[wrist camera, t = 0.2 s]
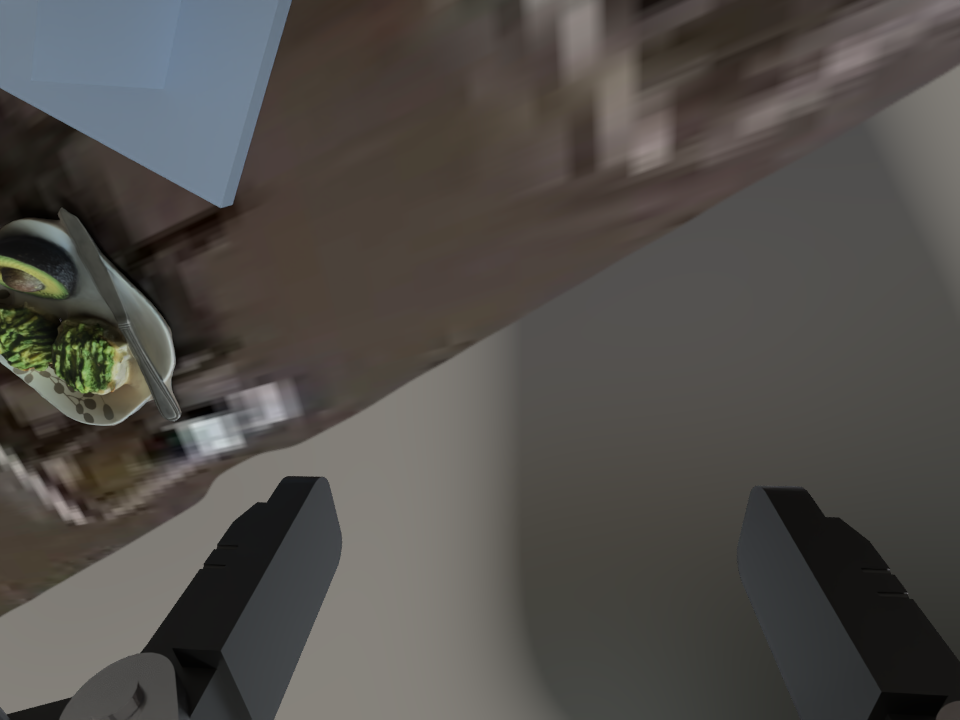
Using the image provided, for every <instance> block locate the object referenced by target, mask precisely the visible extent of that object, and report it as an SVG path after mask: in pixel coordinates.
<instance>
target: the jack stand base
mask: <svg viewBox="0 0 960 720" xmlns="http://www.w3.org/2000/svg"><path fill="white" fill-rule="evenodd" d="M291 1H292V0H0V88H1V89H3V90H5V91H7V92H9V93H11V94H12V95H14V96H16V97H18V98H20V99H22V100H23V101H25V102H27V103H29V104H31V105H33V106H34V107H36V108H38V109H40V110H42V111H44V112H45V113H47V114H49V115H51V116H53V117H55V118H56V119H58V120H60V121H62V122H64V123H66V124H67V125H69V126H71V127H73V128H75V129H77V130H78V131H80V132H82V133H84V134H86V135H88V136H89V137H91V138H93V139H95V140H97V141H99V142H100V143H102V144H104V145H106V146H108V147H110V148H112V149H113V150H115V151H117V152H119V153H121V154H123V155H124V156H126V157H128V158H130V159H132V160H134V161H135V162H137V163H139V164H141V165H143V166H145V167H146V168H148V169H150V170H152V171H154V172H156V173H157V174H159V175H161V176H163V177H165V178H167V179H168V180H170V181H172V182H174V183H176V184H178V185H179V186H181V187H183V188H185V189H187V190H189V191H190V192H192V193H194V194H196V195H198V196H200V197H201V198H203V199H205V200H207V201H209V202H211V203H212V204H214V205H216V206H218V207H220V208H222V207H226V206H229V205H233V201H234V198H235V194H236V191H237V187H238V184H239V180H240V177H241V174H242V170H243V167H244V163H245V160H246V156H247V153H248V149H249V146H250V143H251V139H252V136H253V132H254V129H255V125H256V122H257V118H258V115H259V111H260V108H261V105H262V101H263V98H264V94H265V91H266V87H267V84H268V80H269V77H270V74H271V70H272V67H273V63H274V60H275V56H276V53H277V49H278V46H279V43H280V39H281V36H282V32H283V29H284V25H285V22H286V18H287V15H288V12H289V8H290V5H291Z"/></svg>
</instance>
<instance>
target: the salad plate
mask: <svg viewBox="0 0 960 720" xmlns="http://www.w3.org/2000/svg"><path fill="white" fill-rule="evenodd" d="M58 216H59V218H60V220H50V219H44V218H35V217H31V218H29V217H26V218H22V219H16V220H14V221H12V222H10V223H8V224H7V225H5V226H4V227H2V229H0V362H1V363H2V364H3V365H4V366H6V367H7V368H8V369H10V370H11V371H12V372H13V373H15V374H16V375H17V376H19V377H20V378H21V379H23V381H25V382H26V383H27V384H28V385H30V386H31V387H33V388H34V389H35V390H36V391H37V392H38V393H39V394H40V395H41V397H43V398H45V399H46V400H47V401H48V402H50V403H51V404H52V405H53V406H54V407H56V408H57V409H59V410H60V411H61V412H62V413H64V414H65V415H67V416H68V417H70V418H72V419H74V420H77V421H79V422H82V423H86V424H92V425H109V426H111V425H114V426H115V425H117V424H119V423H121V422H123V421H124V420H125V419H126V418H127V417H129V416H130V415H132V414H134V413H135V412H136V411H138V410H139V409H140V408H141V407H142V406H143V405H144V404H145V403H146V402H148V401H151V400H152V399H153V400H154V401H155V403H156V405H157V408H158V410H159V412H160V414H161V416H162V417H163V418H165V419H167V420H169V421H174V420H177V419H178V418H180V416H181V410H180V407H179V405H178V402H177V400H176V398H175V396H174V394H173V391H172V386H171V378H172V374H173V371H174V368H175V364H176V357H175V350H174V345H173V340H172V332H171V329H170V327H169V326H168V324H167V323H166V321H165V319H164V318H163V316H162V315H161V314H160V313H159V311H158V310H157V309H156V307H155V306H154V305H153V304H152V303H151V302H150V300H148V299H147V298H146V297H145V296H144V295H143V293H142V292H140V291H139V290H138V289H137V288H136V287H135V286H134V285H133V284H132V283H131V282H130V281H129V280H128V279H127V278H126V277H125V276H124V275H123V274H122V273H121V272H120V271H119V270H118V269H117V268H116V267H115V266H114V265H113V263H112V262H111V261H110V260H109V259H108V258H107V257H106V256H105V255H104V254H103V253H102V252H101V250H100V249H99V248H98V246H97V245H96V243H95V242H94V240H93V238H92V237H91V235H90V234H89V233H88V231H87V230H86V228H85V227H84V226H83V224H82V223H81V221H80V220H79V219H78V218H77V217H76V216H75V215H73V214H71V213H69V212H68V211H67V210H65V209H63V208H61V209H60V211H59V212H58ZM9 293H10V296H9ZM59 318H61V320H62V322H60V321H59ZM49 364H53V367H54V370H53V369H52V368H50V367H49Z"/></svg>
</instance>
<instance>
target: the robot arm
mask: <svg viewBox="0 0 960 720" xmlns="http://www.w3.org/2000/svg"><path fill="white" fill-rule="evenodd" d="M341 549H342V536H341V530H340V526H339V522H338V518H337V514H336V510H335V505H334V501H333V497H332V493H331V489H330V485H329V482H328V480H327V479H326V478H325V477H303V476H287V477H285V478H283V479H282V481H281V482H280V483H279V485H278V486H277V488H276V489H275V491H274V492H273V494H272V495H271V497H270V498H269V500H268V501H267V503H262V502H261V503H260V502H257V503H256V504H255V505H253V506H252V507H251V508H250V509H249V510H247V511H246V512H245V513H244V514H242V515H241V516H240V517H239V518H237V519H236V520H235V521H234V522H233V523H232V524H231V526H230V527H229V529H228V530H227V532H226V533H225V534H224V536H223V537H222V539H221V540H220V541H219V543H218V544H217V549H216V550H215V549H214V550H213V551H212V553H211V554H210V556H209V557H208V559H207V560H206V561H205V563H204V567H203V569H200V570H199V571H198V573H197V574H196V576H195V577H194V578H193V580H192V581H191V583H190V584H189V586H188V587H187V589H186V590H185V591H184V593H183V594H182V596H181V597H180V598H179V600H178V601H177V603H176V604H175V606H174V607H173V608H172V610H171V611H170V613H169V614H168V616H167V617H166V618H165V620H164V621H163V623H162V624H161V625H160V627H159V628H158V630H157V631H156V633H155V634H154V635H153V637H152V638H151V640H150V641H149V642H148V644H147V645H146V647H145V648H144V649H143V651H142V652H141V653H140V654H135V655H132V656H128V657H126V658H123V659H121V660H119V661H116V662H115V663H113V664H111V665H109V666H107V667H106V668H104V669H103V670H101V671H100V672H99V673H97V674H96V675H95V676H93V677H92V678H91V679H89V680H88V681H87V682H86V683H85V684H84V685H83V686H82V687H81V688H80V689H79V690H78V691H77V693H76V694H75V695H74V696H73V697H71V698H67V699H64V700H60V701H56V702H52V703H48V704H45V705H41V706H37V707H34V708H29V709H26V710H22V711H18V712H14V713H11V714H7V715H6V713H5V712H4V711H3V710H2V709H1V708H0V720H274V718H275V715H276V713H277V711H278V708H279V706H280V704H281V701H282V698H283V696H284V694H285V691H286V689H287V687H288V684H289V682H290V679H291V677H292V674H293V672H294V670H295V667H296V665H297V663H298V660H299V658H300V655H301V653H302V651H303V648H304V646H305V643H306V641H307V638H308V636H309V634H310V631H311V629H312V626H313V624H314V622H315V619H316V617H317V615H318V612H319V610H320V607H321V605H322V602H323V600H324V598H325V595H326V593H327V591H328V588H329V586H330V583H331V581H332V578H333V576H334V574H335V571H336V569H337V566H338V564H339V560H340V555H341ZM737 563H738V569H739V574H740V578H741V581H742V583H743V586H744V588H745V591H746V593H747V595H748V598H749V600H750V602H751V605H752V607H753V609H754V612H755V614H756V616H757V619H758V621H759V624H760V626H761V628H762V631H763V633H764V635H765V637H766V640H767V642H768V645H769V647H770V649H771V652H772V654H773V656H774V659H775V661H776V663H777V666H778V668H779V670H780V673H781V675H782V678H783V680H784V682H785V684H786V687H787V689H788V692H789V694H790V696H791V699H792V701H793V703H794V706H795V708H796V710H797V713H798V715H799V717H800V720H960V661H959V660H958V659H957V657H956V656H955V655H954V653H953V652H952V651H951V650H950V648H949V647H948V646H947V644H946V643H945V641H944V640H943V639H942V637H941V636H940V635H939V633H938V632H937V631H936V629H935V628H934V627H933V625H932V624H931V623H930V621H929V620H928V619H927V617H926V616H925V615H924V613H923V612H922V611H921V609H920V608H919V607H918V606H917V604H916V603H915V602H914V600H913V599H909V597H908V592H907V591H906V589H905V588H904V587H903V585H902V584H901V583H900V582H899V580H898V579H897V577H896V576H895V575H891V573H890V568H889V567H888V565H887V564H886V563H885V561H884V560H883V559H882V558H881V556H880V555H879V553H878V552H877V551H876V550H875V548H874V547H873V546H872V544H871V543H870V541H868V540H867V539H866V538H865V537H863V536H862V535H861V534H859V533H858V532H857V531H856V530H854V529H853V528H852V527H850V526H849V525H848V524H847V523H845V522H844V521H842V520H841V519H840V518H835V517H833V518H832V517H825V516H824V514H823V513H822V512H821V510H820V509H819V507H818V506H817V504H816V503H815V501H814V500H813V498H812V497H811V495H810V494H809V493H808V492H807V490H805V489H804V488H802V487H796V486H795V487H793V486H755V487H754V488H753V489H752V490H751V493H750V496H749V500H748V504H747V508H746V513H745V517H744V521H743V526H742V530H741V534H740V538H739V542H738V547H737Z"/></svg>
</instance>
